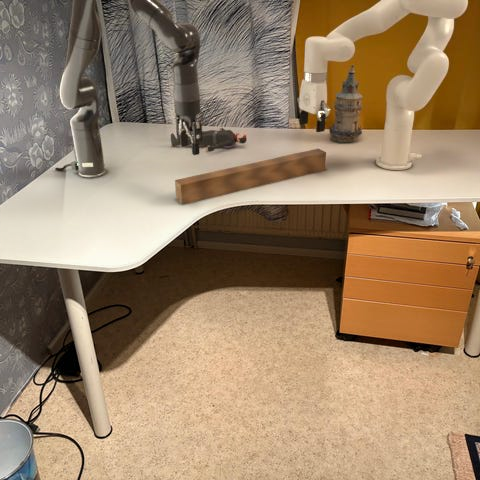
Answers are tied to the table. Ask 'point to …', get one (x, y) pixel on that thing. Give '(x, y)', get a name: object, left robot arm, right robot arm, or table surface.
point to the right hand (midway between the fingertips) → (311, 127)
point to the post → (249, 176)
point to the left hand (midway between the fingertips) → (190, 150)
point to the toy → (214, 139)
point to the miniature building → (347, 111)
